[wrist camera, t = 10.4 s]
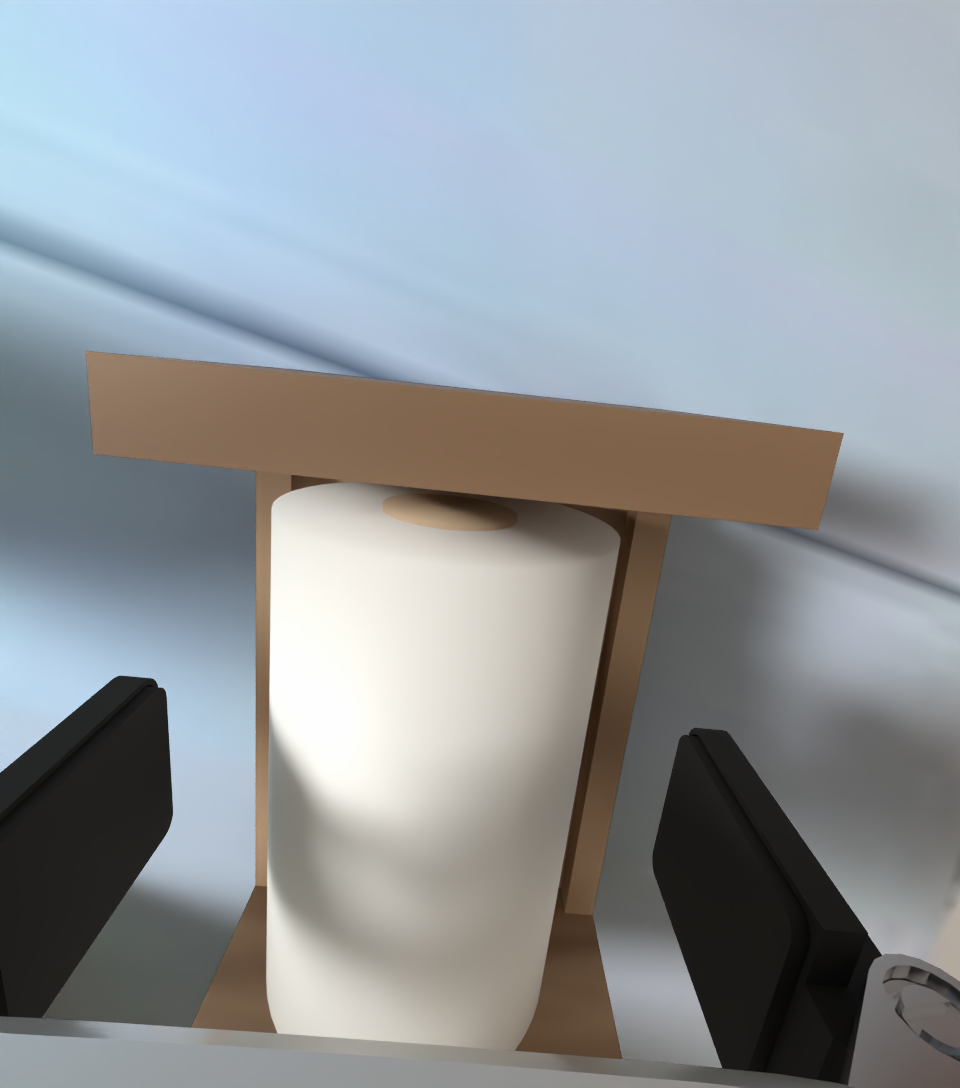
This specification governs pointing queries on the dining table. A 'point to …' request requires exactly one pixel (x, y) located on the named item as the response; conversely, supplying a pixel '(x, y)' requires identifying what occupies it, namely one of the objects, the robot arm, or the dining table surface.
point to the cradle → (486, 469)
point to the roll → (423, 754)
